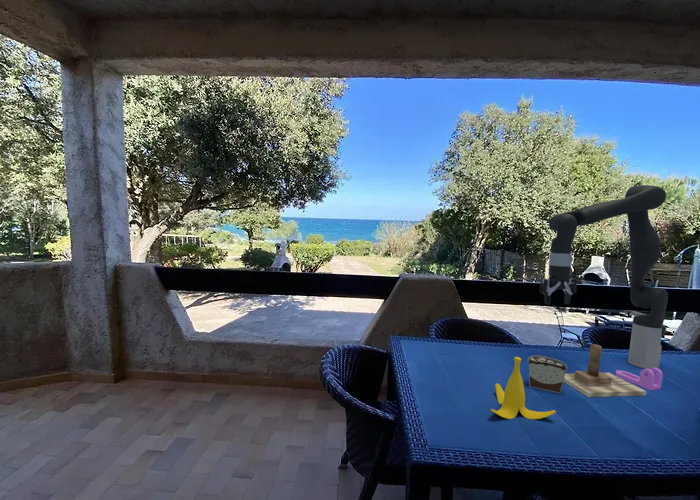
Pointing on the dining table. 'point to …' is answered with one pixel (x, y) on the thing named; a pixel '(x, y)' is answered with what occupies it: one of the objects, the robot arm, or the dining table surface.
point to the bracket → (644, 378)
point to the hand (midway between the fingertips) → (557, 304)
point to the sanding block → (593, 370)
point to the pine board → (605, 387)
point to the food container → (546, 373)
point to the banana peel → (515, 397)
